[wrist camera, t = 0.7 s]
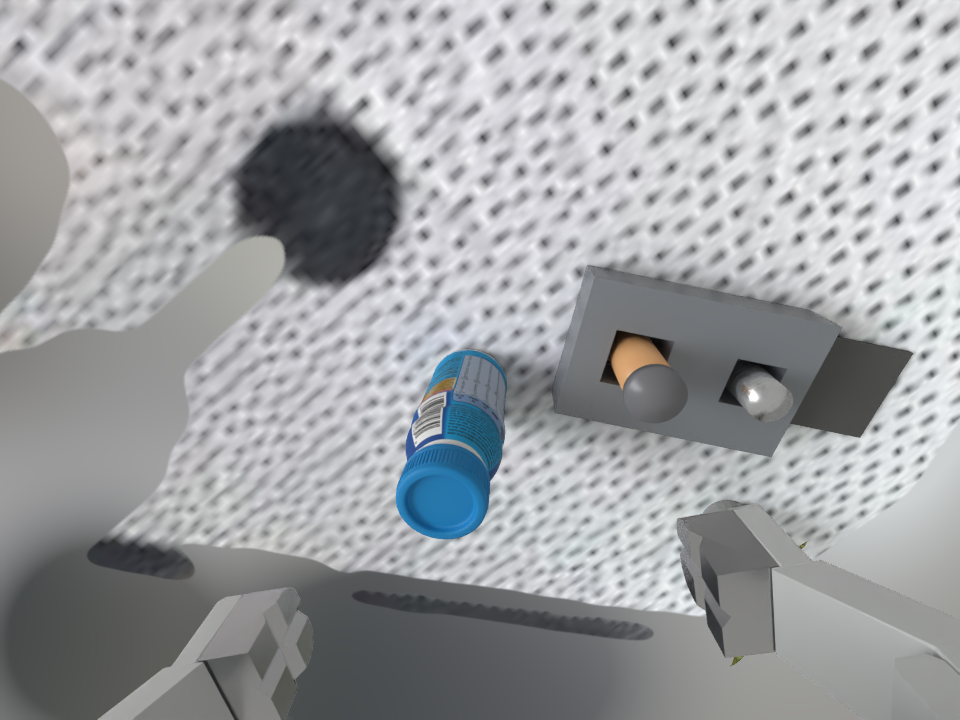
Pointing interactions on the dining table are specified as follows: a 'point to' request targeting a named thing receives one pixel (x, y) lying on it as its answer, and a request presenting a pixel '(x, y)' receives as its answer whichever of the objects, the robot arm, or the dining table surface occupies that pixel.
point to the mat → (850, 386)
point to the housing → (688, 355)
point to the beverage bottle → (454, 447)
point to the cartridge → (646, 379)
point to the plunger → (759, 392)
